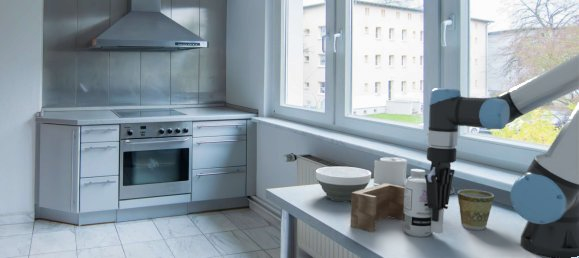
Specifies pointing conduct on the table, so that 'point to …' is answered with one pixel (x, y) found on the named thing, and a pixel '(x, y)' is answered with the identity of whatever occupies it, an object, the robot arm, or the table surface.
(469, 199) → the ceramic cup
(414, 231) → the supplement can
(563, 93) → the robot arm
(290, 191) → the table surface
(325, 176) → the bowl
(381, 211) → the wooden bridge block
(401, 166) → the toilet tissue
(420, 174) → the supplement bottle
